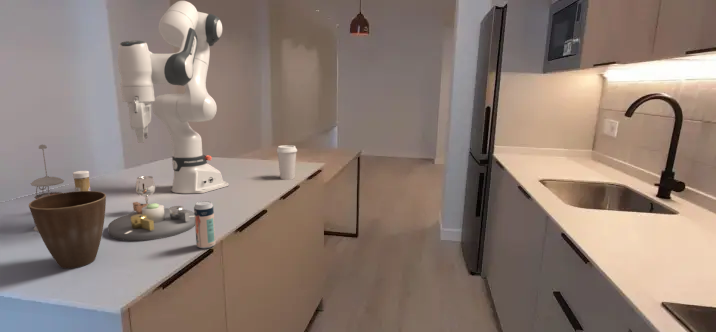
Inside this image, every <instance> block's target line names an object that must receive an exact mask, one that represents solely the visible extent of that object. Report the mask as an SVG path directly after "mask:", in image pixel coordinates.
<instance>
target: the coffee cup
mask: <svg viewBox="0 0 716 332" xmlns="http://www.w3.org/2000/svg"><path fill="white" fill-rule="evenodd" d="M297 152H298V149H297V148H296V145H291V144H290V145H289V144H288V145H285V144H284V145H278V146H277V148H276V153H277V159H278V168H279V178H280V180H283V181H285V180H286V181H289V180H293V179H295V177H296V176H295V174H296V161H297Z"/></svg>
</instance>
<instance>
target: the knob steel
mask: <svg viewBox="0 0 716 332" xmlns="http://www.w3.org/2000/svg"><path fill="white" fill-rule="evenodd" d="M168 208H169V211H170V218H171V219H181V220H183V221H189V212H187V211H185V210H186V209H185V208H184V206H183V205H174V206H171V207H168ZM184 209H185V210H184Z"/></svg>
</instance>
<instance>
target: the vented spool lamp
mask: <svg viewBox="0 0 716 332" xmlns="http://www.w3.org/2000/svg"><path fill="white" fill-rule="evenodd" d="M47 148H48V147H47V145H46V144H40V145H38V149H39V150H42V156H43V162H44V170H45V176H43V177H40V178H36V179H34V180H32V181H31V182H30V185H31V186H32V187H36V189H35V195H34V196H33V197H34V200H36V199H39V198H42V197H46V196H50V195H55V194H60V193H63V192H61V191H54V192H53V191H50V187H52V186H56V185H57V186H58V185H61V184H63V183H64V182H65V179H63V178H61V177H56V176H50V175H48V173H47V166H46V158H45V152H44V151H45V149H47ZM38 189H39V190H40V191H42V193H39V194H38ZM45 189H47V192H44V190H45ZM33 231H34V232H39V231H38V229H37V227H36V225H35V226H34V228H33Z"/></svg>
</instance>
